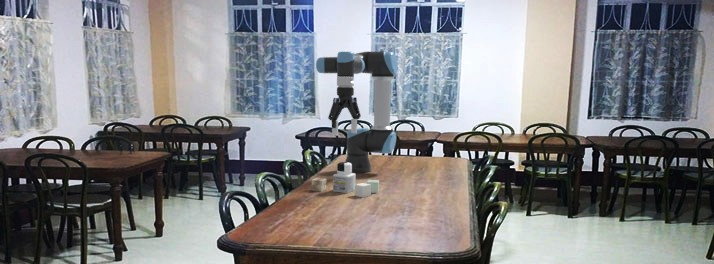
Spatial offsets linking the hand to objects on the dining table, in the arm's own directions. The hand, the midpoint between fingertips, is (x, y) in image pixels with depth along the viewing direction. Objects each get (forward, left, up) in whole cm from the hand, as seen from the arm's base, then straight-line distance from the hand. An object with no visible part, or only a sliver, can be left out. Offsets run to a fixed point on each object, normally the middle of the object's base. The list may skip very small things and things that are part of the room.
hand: (344, 134), depth 235 cm
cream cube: (+12, -2, -26) cm, 29 cm away
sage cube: (+11, +7, -26) cm, 29 cm away
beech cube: (-10, -6, -26) cm, 28 cm away
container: (0, 0, -26) cm, 26 cm away
